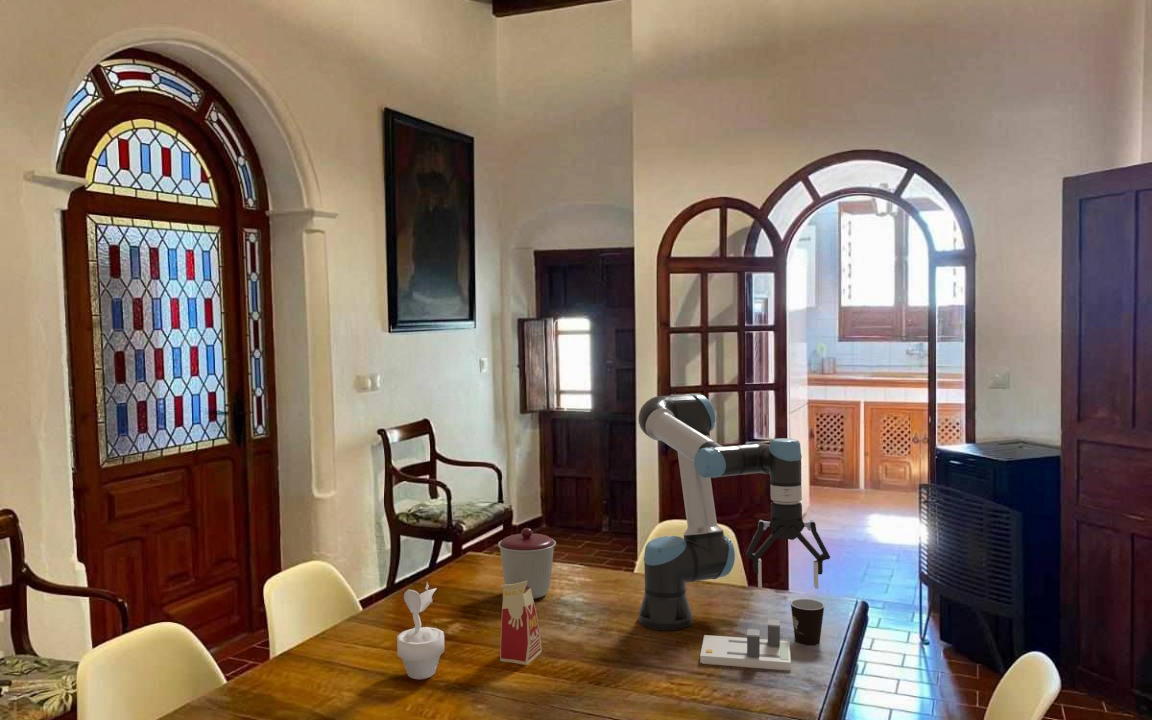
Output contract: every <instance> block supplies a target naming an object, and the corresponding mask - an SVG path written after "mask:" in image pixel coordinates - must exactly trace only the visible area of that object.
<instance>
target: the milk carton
mask: <svg viewBox="0 0 1152 720" xmlns="http://www.w3.org/2000/svg"><path fill="white" fill-rule="evenodd" d="M500 587H501V588H502V606H501V607H502V608H501V621H500V624H501V625H500V640H499V641H500V646H499V648H500V652H499V653H500V654H499V661H500V662H504V663H512V664H513V663H514V664H519V665H523V666H528V665H529V664H530V663H531V662H532V661H534V660H535V659H536V658H537V657H538V656H539V655H540V654H541V653H542V651H543V650H542V640H541V631H540V625H539V621H538V620H539V619H538V614H537V609H536V604H535V601H534V600H535V599H533V596H532V592H531V588H530V587H528V586H527V581H524V582H520V583H516V584H507V585H505V584H500Z"/></svg>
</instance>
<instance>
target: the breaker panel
mask: <svg viewBox="0 0 1152 720" xmlns="http://www.w3.org/2000/svg"><path fill="white" fill-rule="evenodd" d="M699 656H700V657H699V659H700V660H699V662H700V663H699V664H701V663H702V664H703V665H704V664H705V665H715V666H716V665H717V666H728V667H731V666H732V667H741V668H752V669H753V668H755V669H766V670H767V669H768V670H780V671H792V669H791V668H792V666H791V665H792V659H791V645H790V640H781V639H780V646H771V645H768V638H767V639H765V638H760V657H753V656H747V637H738V636H737V637H736V636H726V635H725V636H723V635H708V634H704V635H703V640H702V645H701V650H700V655H699Z"/></svg>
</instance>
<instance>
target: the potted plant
mask: <svg viewBox="0 0 1152 720" xmlns="http://www.w3.org/2000/svg"><path fill="white" fill-rule="evenodd" d="M429 587H430V584H429V583H428V582H426V585H425V588H424V589H425V591H423V592H421V593H419V592H418V591H416V590H414V589H407V590H406V591H405V592H404V594H403V600H404V603H405V604H406V607H407V608H408V609H409V612H410V613H411V614H412V619H413V623H414V627H413V628H410V629H407V630H402V631H401V632H400V633H399V634H398V635H397V636H396V639H397V640H396V644H397V645H396V646H397V650H396V651H397V657H399V658H401V660H402V663H403V666H404V668H405V671H406V674H407V676H408V677H409V678H411V679H414V680H426V679H428V678H429V679H430V678H431V677H432V676H433V675H435V674H436V671H437V667H438V665H439V661H440V659H441V655H442V654H444V652H445V633H444V631H443V630H441V629H439V628H437V627H429V626H425V627H424V626H423V627H422V622H421V617H420V615H419V614H420V613H422V612H424V611H425V610H426V609H427V608H428V606H430V605H431V604H433V594H434V593H435V592H436V591H437V587H435V588H432V589H429Z"/></svg>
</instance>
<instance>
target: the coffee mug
mask: <svg viewBox="0 0 1152 720" xmlns="http://www.w3.org/2000/svg"><path fill="white" fill-rule="evenodd" d="M790 607H791V610H790V611H791V616H792V617H791V618H792V624H793V633H794V634H793V635H794V641H795V643H796V644H798V645H801V646H807V647H809V646H810V647H812V646H817V645H819V644H820V643H821V635H822V627H823V621H824V620H823V618H824V611H825V604H824V603H823V602H822V601H818V600H817V599H816V600H815V599H811V598H810V599H809V598H798V599H794V600H791V602H790Z"/></svg>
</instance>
